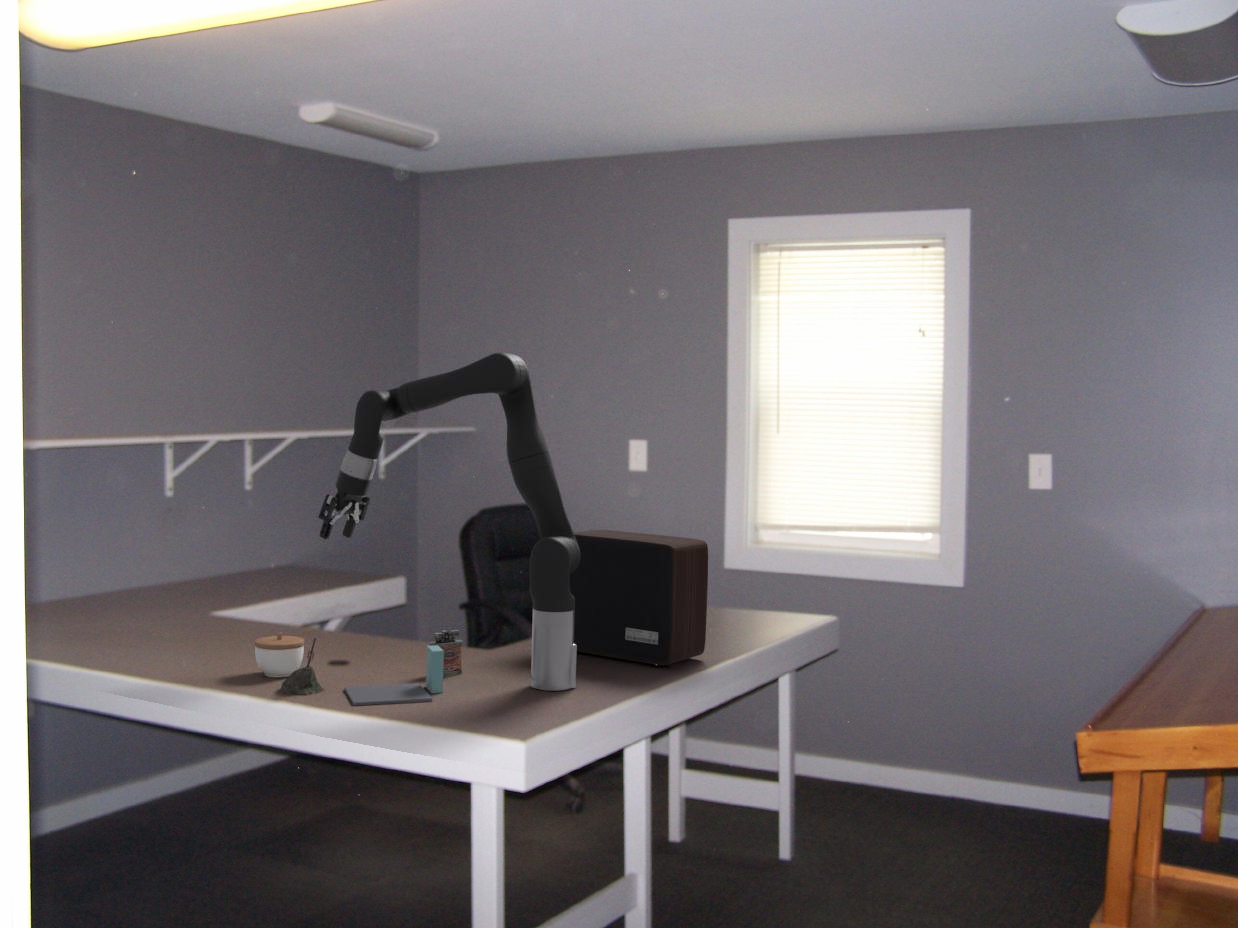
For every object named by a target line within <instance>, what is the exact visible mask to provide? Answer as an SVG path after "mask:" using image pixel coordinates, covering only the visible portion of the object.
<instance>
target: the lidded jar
mask: <svg viewBox="0 0 1238 928" xmlns="http://www.w3.org/2000/svg"><path fill="white" fill-rule="evenodd" d="M304 647H305V639H304V638H303V637H300V636H294V635H283V632H277V635H272V636H270V635H269V636H264V637H260V638H257V639H255V640H254V648H255V649H254V654H255V655H254V656H255V661H256V664H257V666H258V668H259V669H260V671H261V672H262V673H264V675H265V677H268V678H288V677H289V676H290V675H291V674H292V673H293V672H294V671H296V670H298V669H300V666H301V664H302V662H303V658H304V654H305V653H304V651H305V648H304Z"/></svg>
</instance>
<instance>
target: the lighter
mask: <svg viewBox="0 0 1238 928" xmlns="http://www.w3.org/2000/svg"><path fill="white" fill-rule="evenodd" d="M456 637H461V631H460V630H459V629H457V630H449V631H448V630H444V629H443V630H441V632H435V633H434V640H435V641H431V642H429V646H436V645H438V646H439V647H440V648H441V649H442V650H443V651H444V659H443V677H451V676H457V675H462V674H463V669H462V660H463V644H464V640H462V639H456Z"/></svg>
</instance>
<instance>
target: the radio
mask: <svg viewBox="0 0 1238 928" xmlns="http://www.w3.org/2000/svg"><path fill="white" fill-rule="evenodd" d="M573 533H574V535H575V538H576V540H577V543H578V546H579V549H580V563H579V565H578V567H577V569H576V570H575V571H574V572H573V573H571V574H570V592H571V594H572V595H573V596H574V598H575V619H574V644H576V645H577V652H579V653H585V654H591V655H596V656H602V657H609V658H613V659H618V660H626V661H632V662H637V663H638V662H639V663H644V664H652V665H655V664H657V665H658V666H668V665H673V664H675V663H679V662H681V661H685V660H688V659H691V658H694V657H697V656H701V655H703V654H704V652H705V649H706V638H707V637H706V634H707V614H708V613H707V612H708V581H709V549H708V543H707V542H706V541H704V540H703V539H697V538H689V537H683V536H682V537H681V536H674V535H664V534H652V533H643V532H642V533H641V532H631V531H630V532H629V531H619V530H610V529H609V530H608V529H591V530H583V531H582V530H581V531H573Z"/></svg>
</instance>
